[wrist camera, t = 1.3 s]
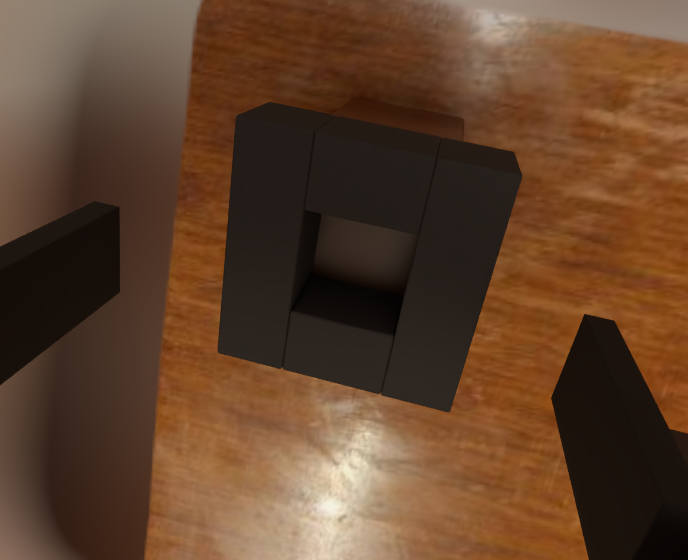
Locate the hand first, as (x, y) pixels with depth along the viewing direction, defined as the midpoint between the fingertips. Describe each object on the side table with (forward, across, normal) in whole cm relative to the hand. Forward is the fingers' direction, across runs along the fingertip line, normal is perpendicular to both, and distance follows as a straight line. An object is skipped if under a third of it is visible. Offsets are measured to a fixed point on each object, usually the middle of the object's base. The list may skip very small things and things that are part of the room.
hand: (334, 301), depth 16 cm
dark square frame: (+4, 0, 0) cm, 5 cm away
